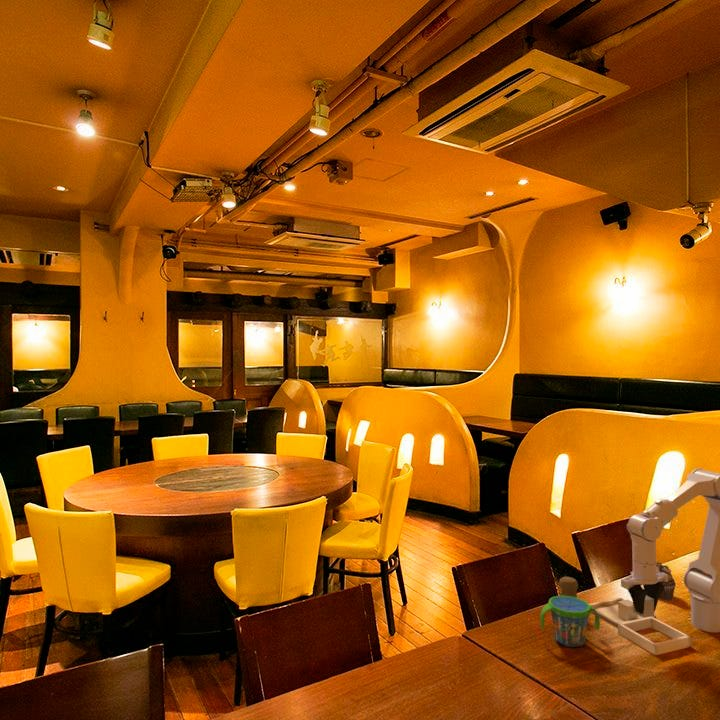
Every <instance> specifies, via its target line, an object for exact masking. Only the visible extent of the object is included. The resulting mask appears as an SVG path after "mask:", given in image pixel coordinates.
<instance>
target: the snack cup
mask: <svg viewBox="0 0 720 720" xmlns="http://www.w3.org/2000/svg"><path fill="white" fill-rule="evenodd" d="M589 604H590V603H588V602H587V601H586V600H584V599H581V598H578V597H577V598H576V597H571V596H561V595H556V596H552V597H550V598H549V600H548V603H546V604H545V605H544V606H543V607H542V608H541V611H540V613H539V614H540V615H539V624H540V626H541V629H542V630H543V631H545V630H546V629H545V614H546V613H547V612H548V611H550V613H551V622H552V627H553V634H554V639H555V641H556V642H558V643H559V644H561V645H563V646H565V647H570V648H577V647H583V645H584V644H585V642H586V637H587V636H586V635H587V632H588V631H587V630H588V624H589V621H588V620H589V617H590V614H591V612H590V611H591V610H593V611H594V612H595V614H594V616H595V617H594V623H593V626H594V629H596V630H599V629H600V626H601V622H600V617H599V615H598V613H597V611H596V610H595V609H594V608H593V607H592V606H591V605H589Z"/></svg>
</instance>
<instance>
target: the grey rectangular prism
mask: <svg viewBox="0 0 720 720" xmlns="http://www.w3.org/2000/svg"><path fill="white" fill-rule="evenodd" d="M633 612H634V613H636V614H638V615H640V616H641V617H643V618H646V617H650V616H654V615H655V611H654V599H653V598H651V597H649V596H647V595H646V597H645V602H644V612H643V614H640V613H638V612H636V611H635V607H634V604H633Z"/></svg>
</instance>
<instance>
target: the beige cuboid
mask: <svg viewBox="0 0 720 720" xmlns="http://www.w3.org/2000/svg"><path fill="white" fill-rule="evenodd" d="M618 617H619V618H621V619H623V620H625V621H629V620H633V619H638V614H636V613H634V612H633V601H632V600H629V599H624V600H623V601H618Z"/></svg>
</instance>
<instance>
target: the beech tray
mask: <svg viewBox="0 0 720 720" xmlns="http://www.w3.org/2000/svg"><path fill="white" fill-rule="evenodd" d="M623 600H625V599H624V598H622V597H618V598H613V599H607V600H603V601H597V602H592V603H588V604H589V605H591V606H592V607H593V608H594V609H595V610H596V611H597V613H598V615H599V619H601V620H602V621H603V620H604V622H606V623H609V624H610V625H611V626H613V627H615V628H616V629H618V623H623V622H628V621H625V620H623V619H621V618H619V617H618V601H623ZM590 614H593V615H595V612H594V611H593V610H591V611H590ZM650 617H651V616H650ZM652 617H654V618H655V619H657V615H655V614H654V616H652ZM642 618H643V617H641V616H640V615H638V619H642ZM633 620H637V619H633ZM629 621H632V620H629Z"/></svg>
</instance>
